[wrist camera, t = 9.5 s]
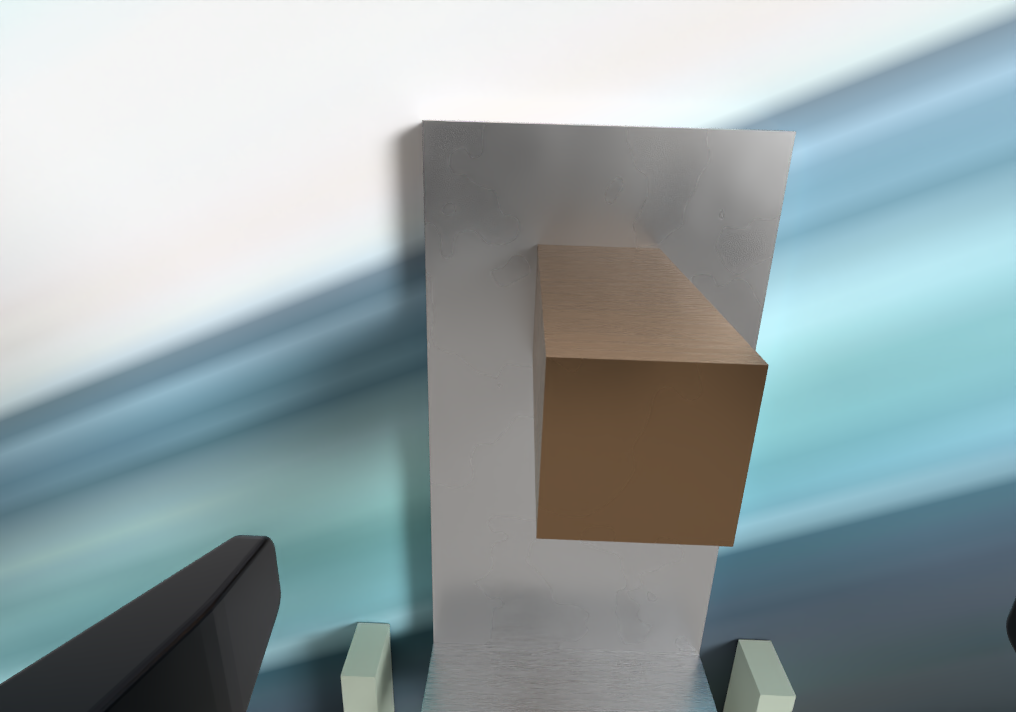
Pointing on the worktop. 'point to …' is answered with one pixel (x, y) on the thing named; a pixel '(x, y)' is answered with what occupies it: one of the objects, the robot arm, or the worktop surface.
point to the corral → (748, 708)
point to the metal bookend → (589, 402)
